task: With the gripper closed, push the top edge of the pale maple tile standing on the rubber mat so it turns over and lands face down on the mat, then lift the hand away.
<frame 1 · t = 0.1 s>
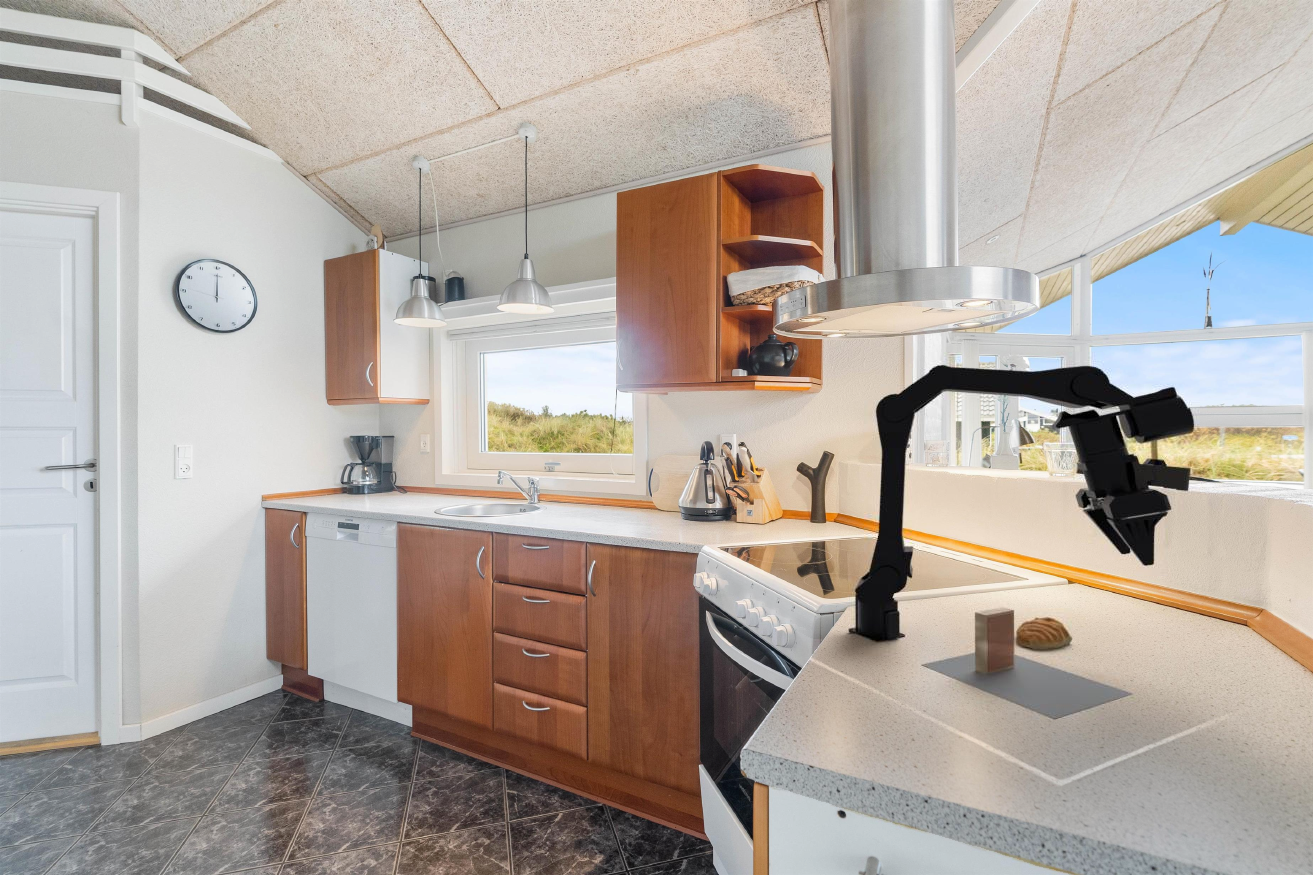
hand: (1136, 559, 81), 15 cm above the worktop, tool pointing down, fingers open, 9 cm apart
pastry: (1042, 646, 91), on the worktop
tile: (995, 668, 80), resting on mat
mat: (1020, 681, 77), on the worktop
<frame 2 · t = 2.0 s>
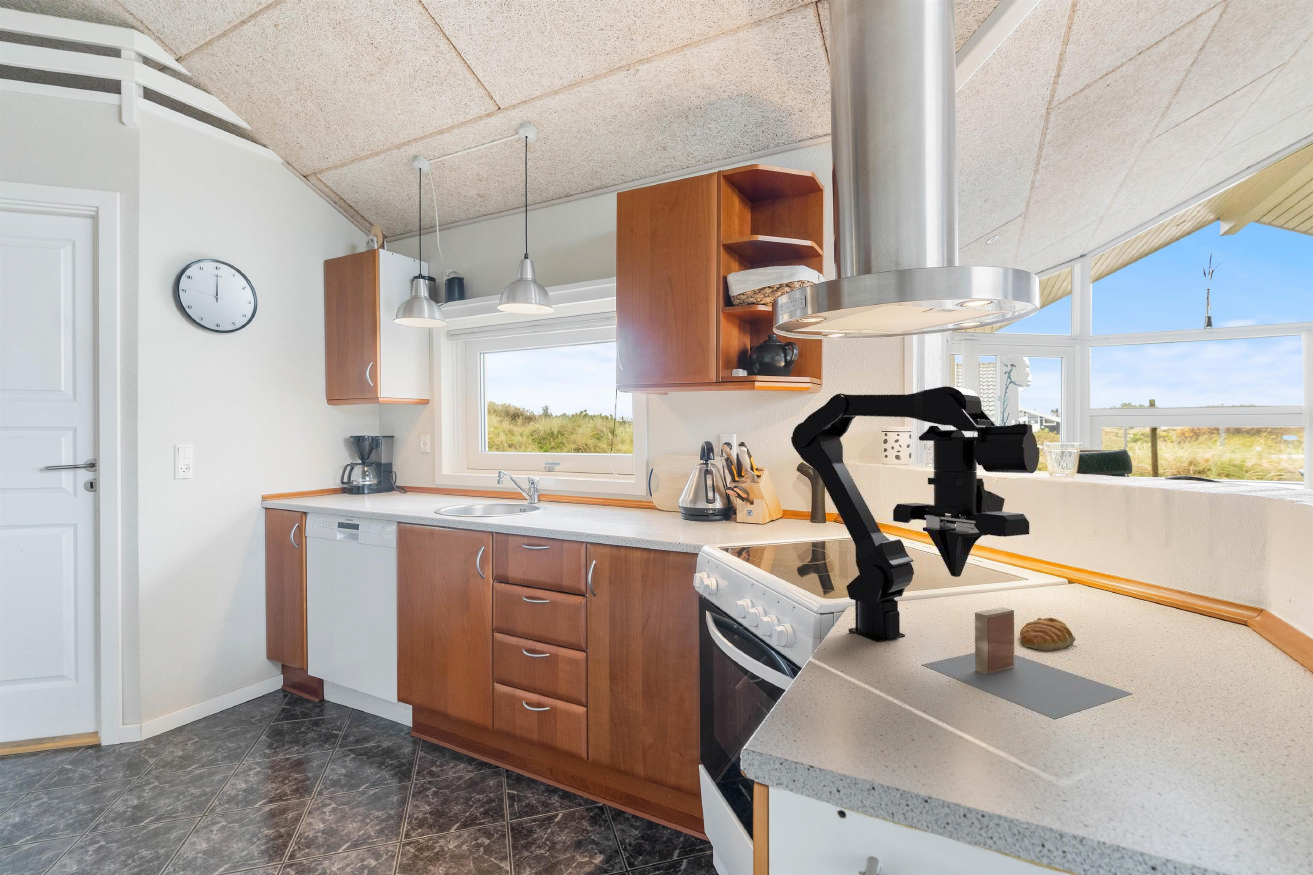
hand: (955, 576, 85), 12 cm above the worktop, tool pointing down, fingers closed
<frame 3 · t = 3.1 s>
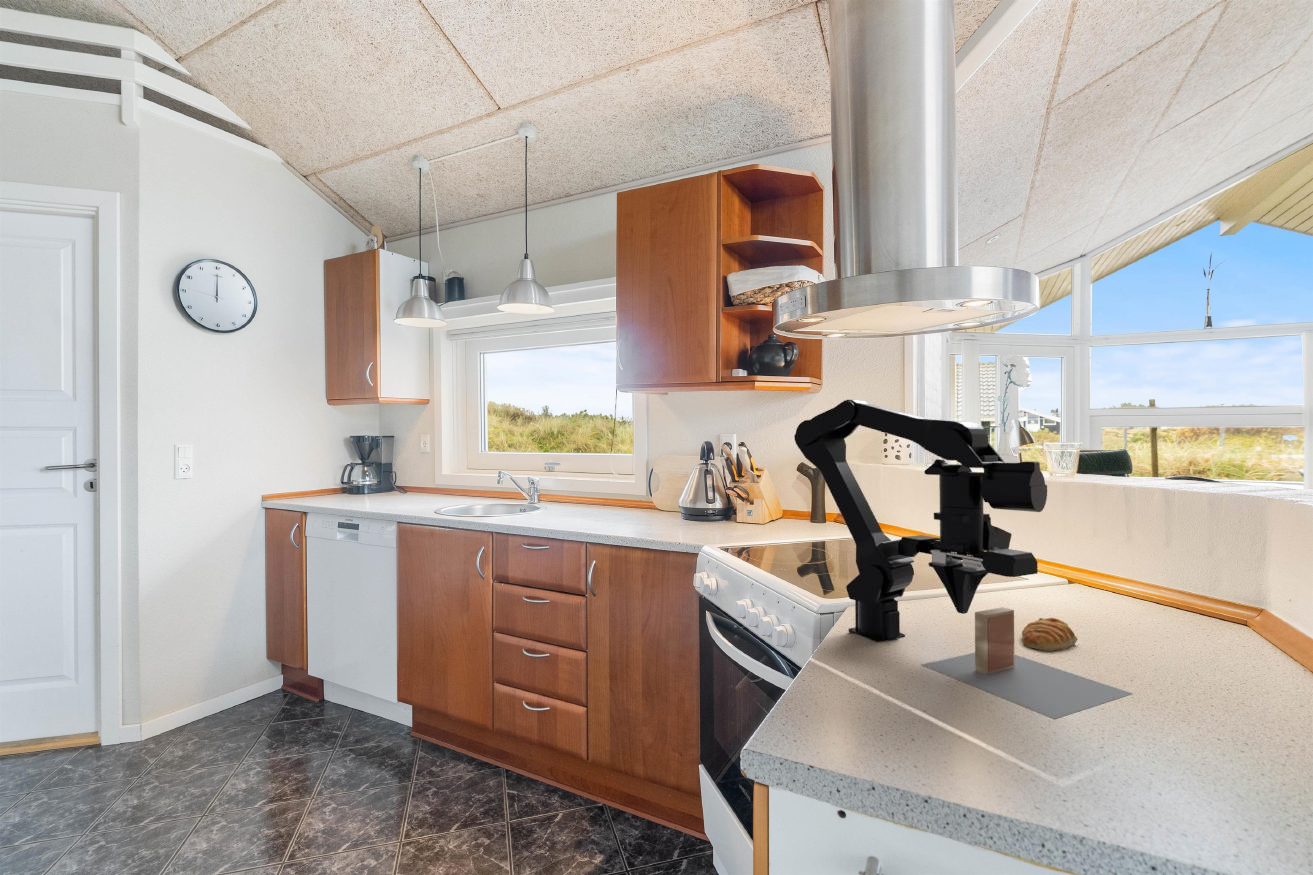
hand: (962, 612, 84), 7 cm above the worktop, tool pointing down, fingers closed
nothing on the worktop moved.
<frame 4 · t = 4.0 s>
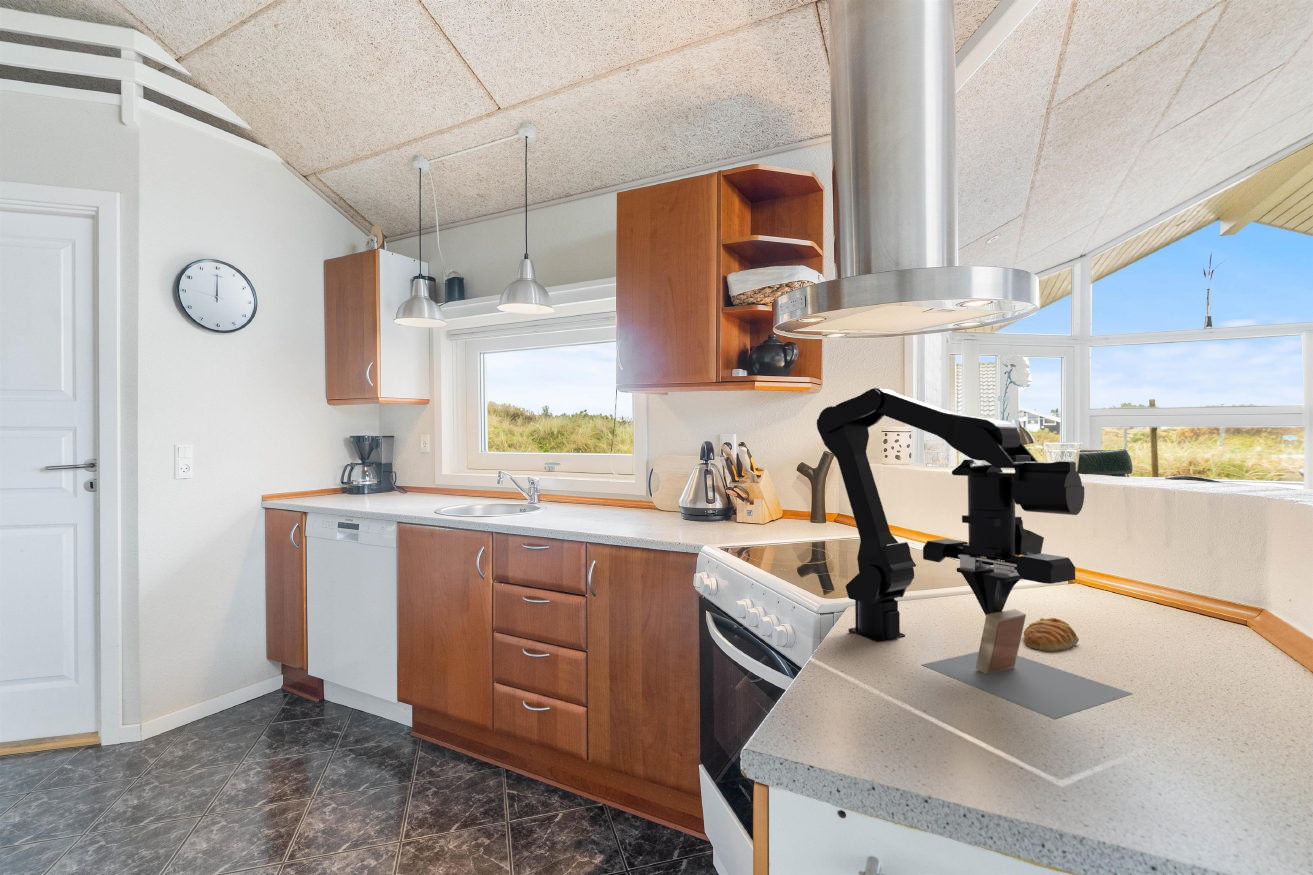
hand: (993, 620, 80), 7 cm above the worktop, tool pointing down, fingers closed
tile: (995, 667, 80), point 1 cm above the worktop, tilted 12°, touching mat
everything else where it was.
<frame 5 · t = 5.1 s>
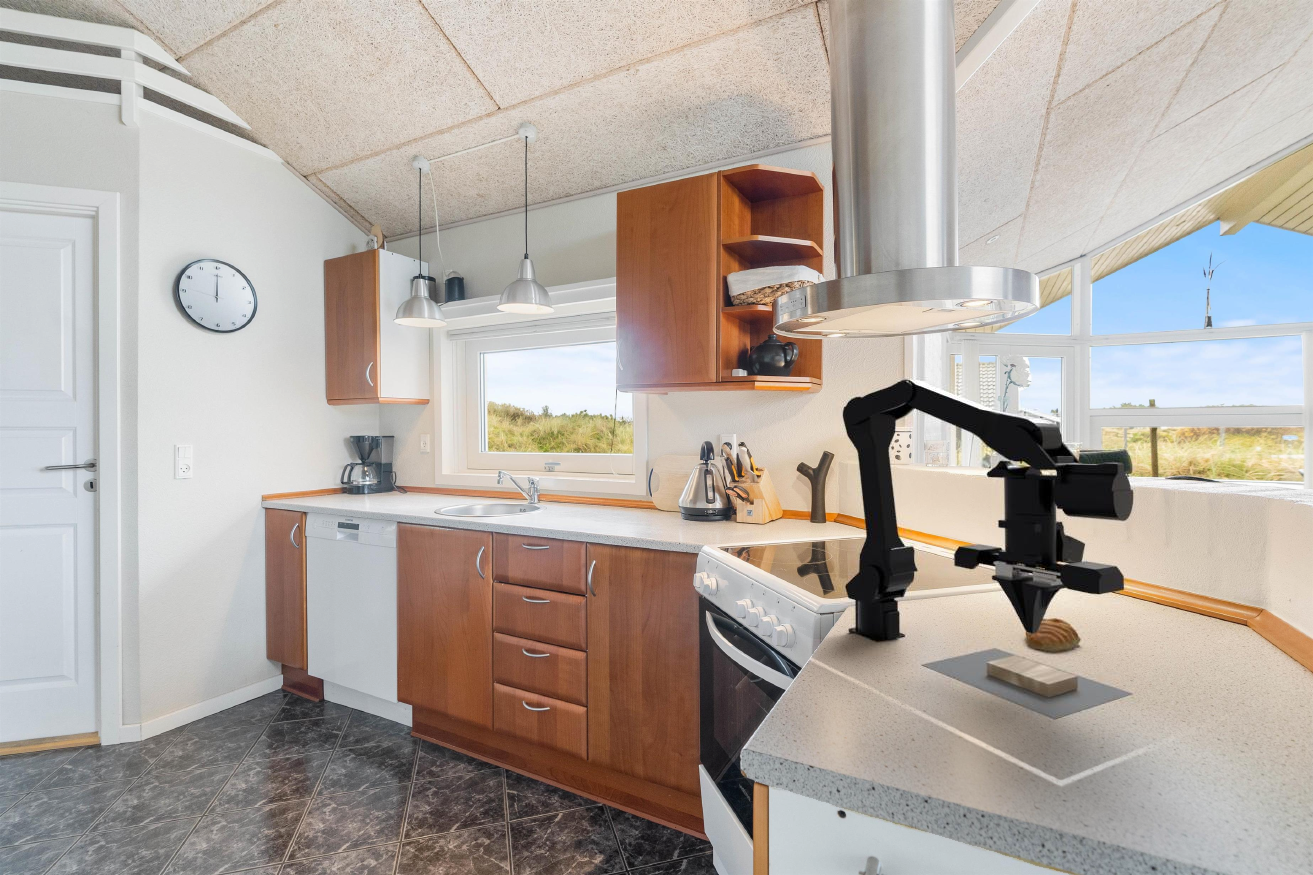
hand: (1031, 632, 75), 7 cm above the worktop, tool pointing down, fingers closed
tile: (1001, 664, 79), point 1 cm above the worktop, tilted 90°, touching mat
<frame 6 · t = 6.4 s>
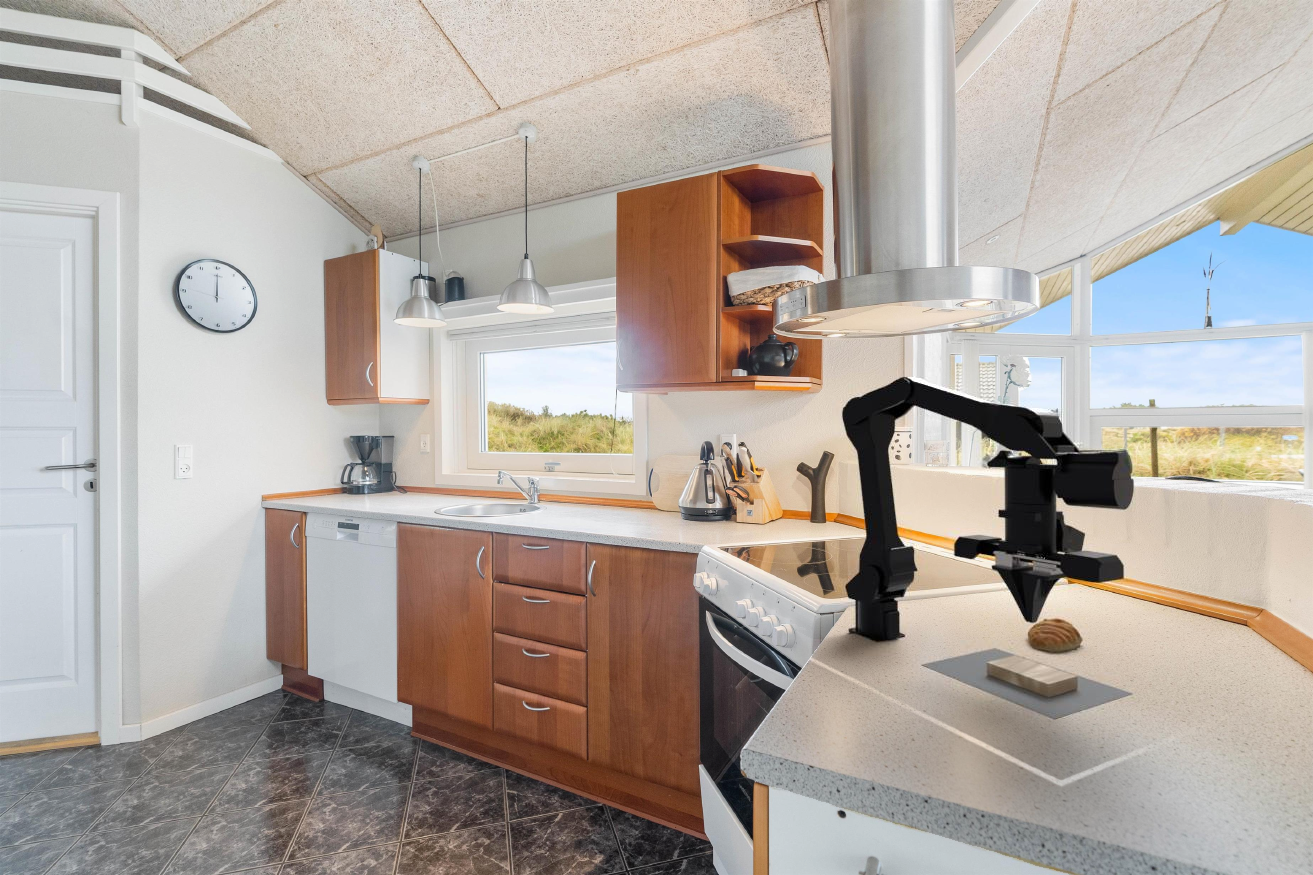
hand: (1031, 621, 75), 8 cm above the worktop, tool pointing down, fingers closed
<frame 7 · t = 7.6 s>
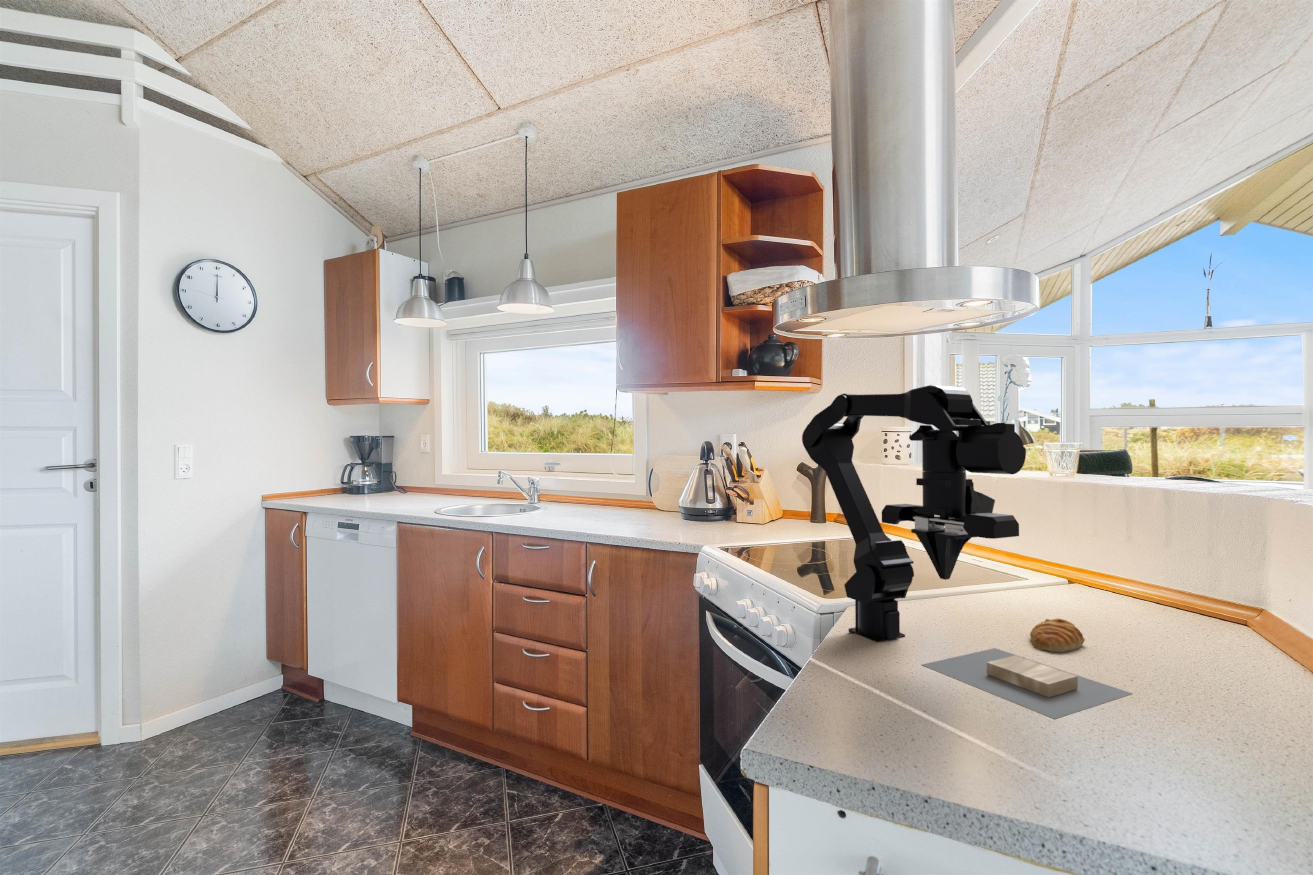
hand: (944, 578, 84), 12 cm above the worktop, tool pointing down, fingers closed
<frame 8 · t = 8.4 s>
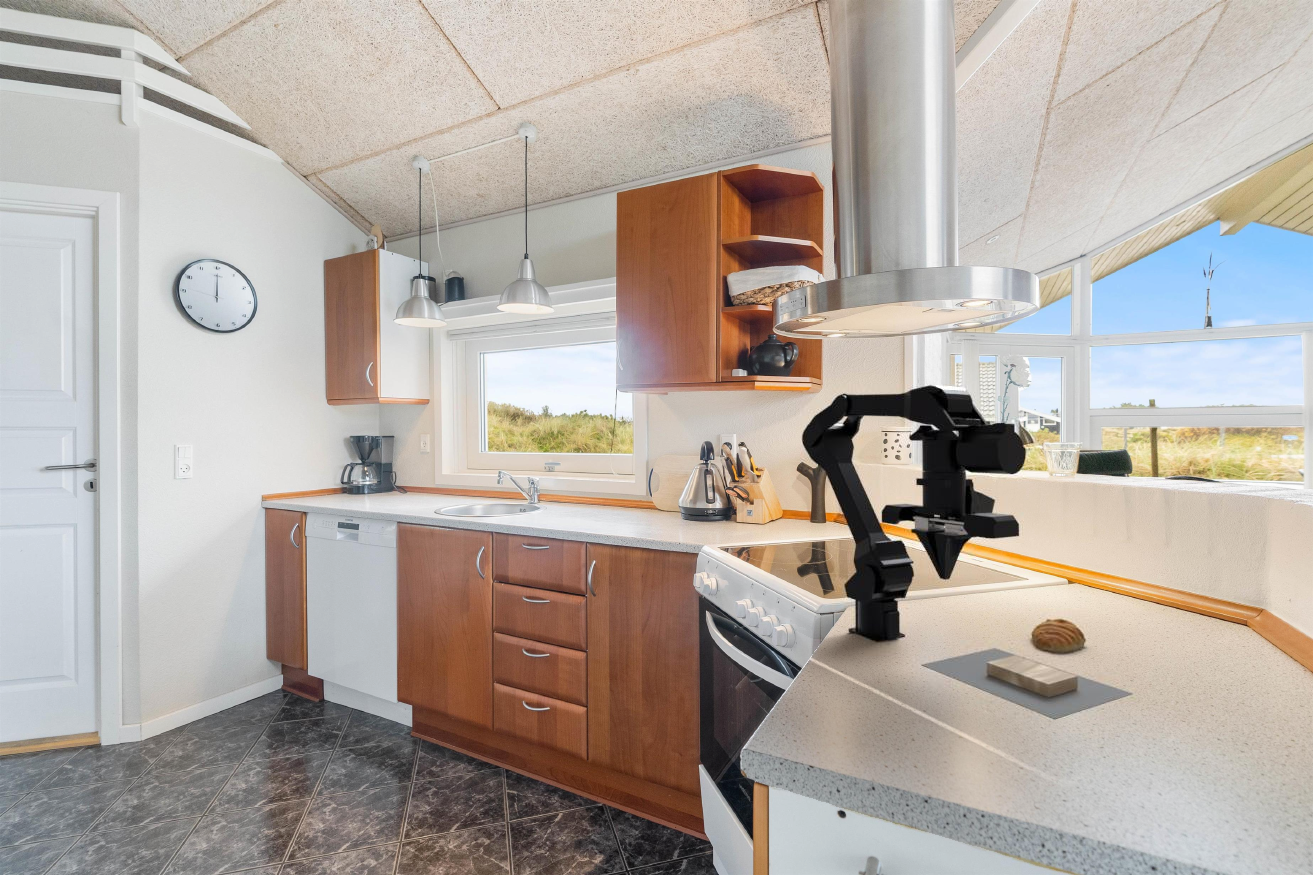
hand: (944, 578, 84), 12 cm above the worktop, tool pointing down, fingers closed
at the end: tile tilted 90°; tile inside the target area on the mat (2.6 cm from its centre), point 1.3 cm above the mat's base; tile touching mat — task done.
